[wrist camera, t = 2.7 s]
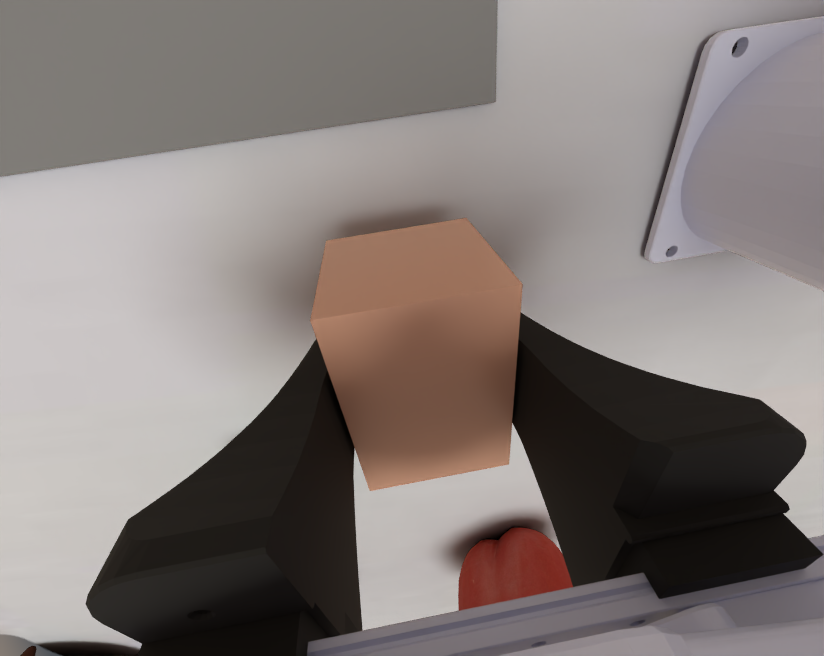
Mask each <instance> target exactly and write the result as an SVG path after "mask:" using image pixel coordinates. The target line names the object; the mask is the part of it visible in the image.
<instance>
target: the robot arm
mask: <svg viewBox="0 0 824 656" xmlns="http://www.w3.org/2000/svg"><path fill="white" fill-rule="evenodd" d="M736 42H738V43H737V48H736V50H735V52H734V53H733V55H732V48H733V46H734V44H735V43H736ZM670 247H671V248H670ZM669 248H670V249H669ZM668 249H669V250H668ZM667 250H668V251H667ZM666 251H667V252H666ZM724 251H731V252H734V253H736V254H738V255H741V256H743V257H745V258H748V259H750V260H752V261H755V262H757V263H759V264H762V265H764V266H766V267H769V268H771V269H773V270H776V271H778V272H780V273H783V274H785V275H787V276H790V277H792V278H794V279H797V280H799V281H801V282H804V283H806V284H808V285H811V286H813V287H815V288H818V289H820V290H822V291H824V16H820V17H813V18H806V19H799V20H792V21H785V22H778V23H771V24H764V25H758V26H751V27H744V28H737V29H730V30H724V31H720V32H718V33H716V34H715V35H713V36H712V37H711V38H710V39H709V40H708V42H707V43H706V45H705V47H704V49H703V51H702V54H701V57H700V61H699V64H698V68H697V71H696V75H695V78H694V82H693V85H692V89H691V92H690V96H689V99H688V103H687V106H686V110H685V113H684V117H683V120H682V124H681V127H680V130H679V134H678V137H677V141H676V144H675V148H674V151H673V155H672V158H671V162H670V165H669V169H668V172H667V176H666V179H665V183H664V186H663V190H662V193H661V197H660V200H659V204H658V207H657V210H656V214H655V217H654V221H653V224H652V228H651V231H650V235H649V238H648V242H647V245H646V249H645V253H644V257H645V259H647V260H648V261H650V262H652V263H661V262H667V261H672V260H678V259H684V258H690V257H695V256H701V255H707V254H712V253H718V252H724ZM512 423H513V425H514V427H515V429H516V430H517V433H518V435H519V437H520V439H521V441H522V443H523V446H524V449H525V451H526V454H527V456H528V459H529V461H530V464H531V466H532V469H533V472H534V474H535V477H536V480H537V482H538V485H539V488H540V491H541V493H542V496H543V499H544V501H545V504H546V507H547V510H548V513H549V516H550V519H551V521H552V524H553V527H554V530H555V533H556V536H557V539H558V542H559V545H560V548H561V551H562V554H563V557H564V560H565V563H566V566H567V569H568V572H569V575H570V579H571V582H572V585H573V587H571V588H566V589H561V590H557V591H552V592H547V593H542V594H537V595H533V596H528V597H523V598H518V599H513V600H508V601H504V602H499V603H494V604H489V605H484V606H479V607H475V608H470V609H465V610H460V611H455V612H450V613H446V614H441V615H436V616H431V617H426V618H422V619H417V620H412V621H407V622H402V623H397V624H393V625H388V626H383V627H378V628H373V629H368V630H364V631H362V618H361V605H360V592H359V578H358V562H357V546H356V527H355V507H354V480H353V469H354V449H355V447H354V444H353V441H352V438H351V435H350V433H349V430H348V427H347V424H346V421H345V418H344V415H343V413H342V410H341V407H340V404H339V401H338V398H337V395H336V393H335V390H334V387H333V384H332V381H331V378H330V375H329V373H328V370H327V367H326V364H325V361H324V358H323V355H322V353H321V350H320V347H319V344H318V341H317V338H316V340H315V342H314V343H313V345H312V346H311V348H310V349H309V351H308V353H307V354H306V356H305V357H304V359H303V360H302V361H301V363H300V364H299V366H298V367H297V369H296V370H295V372H294V373H293V374H292V376H291V377H290V378H289V380H288V381H287V382H286V384H285V385H284V386H283V387H282V389H281V390H280V391H279V393H278V394H277V395H276V396H275V397H274V399H273V400H272V401H271V402H270V403H269V404H268V405H267V406H266V408H265V409H264V410H263V411H262V412H261V413H260V414H259V415H258V416H257V417H256V418H255V419H254V420H253V421H252V422H251V423H250V424H249V425H248V426H247V427H246V428H245V429H244V430H243V431H242V432H241V433H239V434H238V435H237V436H236V437H235V438H234V439H233V440H232V441H231V442H230V443H229V444H228V445H227V446H225V447H224V448H223V449H222V450H221V451H220V452H219V453H217V454H216V455H215V456H214V457H213V458H211V459H210V460H209V461H208V462H207V463H205V464H204V465H203V466H202V467H200V468H199V469H198V470H196V471H195V472H194V473H193V474H191V475H190V476H189V477H188V478H186V479H185V480H184V481H182V482H181V483H180V484H178V485H177V486H176V487H174V488H173V489H171V490H170V491H168V492H167V493H166V494H164V495H163V496H161V497H160V498H159V499H157V500H156V501H154V502H153V503H151V504H150V505H149V506H147V507H146V508H144V509H143V510H142V511H140V512H139V513H137V514H136V515H134V516H133V517H131V518H130V519H128V521H127V523H126V524H125V526H124V528H123V530H122V532H121V534H120V535H119V537H118V539H117V541H116V543H115V545H114V547H113V549H112V550H111V552H110V554H109V556H108V558H107V560H106V562H105V564H104V566H103V567H102V569H101V571H100V573H99V575H98V577H97V579H96V581H95V582H94V584H93V586H92V588H91V590H90V592H89V594H88V596H87V601H86V605H87V608H88V610H89V611H90V613H91V615H92V617H93V618H95V619H96V620H98V621H99V622H101V623H102V624H104V625H106V626H108V627H110V628H112V629H114V630H116V631H118V632H120V633H122V634H124V635H126V636H128V637H130V638H132V639H134V640H136V641H138V642H140V643H142V646H141V649H140V651H139V654H138V656H824V535H822V536H817V537H812V538H807V537H806V536H805V535H804V534H803V533H802V532H801V531H800V530H799V529H798V528H797V527H796V526H795V525H794V524H793V523H792V522H791V521H790V520H789V519H788V518H787V517H786V516H785V515H784V514H783V513H786V512H787V511H788V510H789V506H788V504H787V503H786V502H785V501H784V500H783V499H782V498H781V497H780V496H779V495H778V494H777V493H776V492H775V491H774V489H775V488H776V487H777V486H778V485H779V484H780V483H781V481H782V480H783V479H784V478H785V477H786V476H787V475H788V474H789V473H790V472H791V470H792V469H793V468H794V467H795V466H796V465H797V464H798V462H799V461H800V459H801V458H802V457H803V455H804V452H805V449H806V439H805V436H804V433H802V432H801V431H800V430H798V429H797V428H796V427H795V426H793V425H792V424H791V423H789V422H788V421H787V420H786V419H784V418H783V417H782V416H780V415H779V414H778V413H777V412H775V411H774V410H773V409H771V408H770V407H769V406H768V405H766V404H765V403H764V402H762V401H761V400H759V399H755V398H750V397H746V396H741V395H737V394H732V393H727V392H723V391H718V390H713V389H709V388H704V387H700V386H696V385H692V384H688V383H685V382H681V381H677V380H674V379H670V378H666V377H663V376H660V375H656V374H653V373H650V372H646V371H644V370H641V369H638V368H635V367H632V366H629V365H626V364H623V363H620V362H618V361H615V360H612V359H610V358H607V357H605V356H603V355H600V354H598V353H596V352H593V351H591V350H588V349H586V348H584V347H582V346H580V345H578V344H575V343H573V342H571V341H570V340H568V339H566V338H564V337H562V336H560V335H558V334H556V333H554V332H552V331H551V330H549V329H547V328H545V327H544V326H542V325H540V324H538V323H537V322H535V321H533V320H532V319H530V318H529V317H527V316H525V315H524V314H522V313H521V312H520V325H519V338H518V351H517V364H516V377H515V391H514V404H513V417H512Z"/></svg>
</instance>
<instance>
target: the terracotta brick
mask: <svg viewBox="0 0 824 656" xmlns="http://www.w3.org/2000/svg"><path fill="white" fill-rule="evenodd" d="M522 285H523V284H522V283H521V282H520V281H519V279H518V278H517V277H516V276H515V275H514V274H513V272H512V271H511V270H510V269H509V268H508V266H507V265H506V264H505V263H504V262H503V261H502V259H501V258H500V257H499V256H498V255H497V253H496V252H495V251H494V250H493V249H492V248H491V246H490V245H489V244H488V243H487V242H486V241H485V239H484V238H483V237H482V236H481V235H480V233H479V232H478V231H477V230H476V229H475V228H474V226H473V225H472V224H471V223H470V222H469V220H468V219H467V218H462V219H456V220H450V221H444V222H438V223H431V224H425V225H419V226H413V227H407V228H401V229H394V230H388V231H382V232H376V233H370V234H364V235H357V236H351V237H345V238H339V239H333V240H327V241H326V244H325V249H324V254H323V259H322V264H321V269H320V274H319V279H318V284H317V289H316V294H315V299H314V304H313V309H312V314H311V319H310V321H311V324H312V327H313V330H314V333H315V335H316V338H317V341H318V344H319V347H320V350H321V353H322V355H323V358H324V361H325V364H326V367H327V370H328V373H329V375H330V378H331V381H332V384H333V387H334V390H335V393H336V395H337V398H338V401H339V404H340V407H341V410H342V413H343V415H344V418H345V421H346V424H347V427H348V430H349V433H350V435H351V438H352V441H353V444H354V447H355V450H356V453H357V455H358V458H359V461H360V464H361V467H362V470H363V473H364V475H365V478H366V481H367V484H368V487H369V490H370V491H372V490H377V489H383V488H388V487H393V486H398V485H403V484H409V483H414V482H419V481H424V480H430V479H435V478H440V477H445V476H450V475H456V474H461V473H466V472H471V471H476V470H482V469H487V468H492V467H497V466H503V465H508V464H509V457H510V443H511V430H512V417H513V404H514V391H515V377H516V364H517V351H518V338H519V325H520V312H521V298H522Z"/></svg>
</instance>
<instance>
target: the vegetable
mask: <svg viewBox="0 0 824 656" xmlns="http://www.w3.org/2000/svg"><path fill="white" fill-rule="evenodd" d="M571 587H573V585H572V582H571V579H570V575H569V572H568V569H567V566H566V563H565V560H564V557H563V554H562V553H561V551H560V550H559V548H558V547H557V546H556V545H555V544H554V543H553V542H552V541H551V540H550V539H549V538H548V537H546V536H545V535H544V534H543V533H541V532H538V531H536V530H532V529H528V528H520V527H518V528H511V529H510V530H508V531H507V532H506V533H504V534H503V536H502V537H501V538H500V539H499V540H492V539H487V540H481V541H480V542H479V543H477V544H476V545H475V546H474V547H473V548H472V549H471V550H470V551H469V552H468V554H467V555H466V557H465V560H464V562H463V564H462V568H461V573H460V577H459V595H458V598H459V611H460V610H465V609H470V608H475V607H479V606H484V605H489V604H494V603H499V602H504V601H508V600H513V599H518V598H523V597H528V596H533V595H537V594H542V593H547V592H552V591H557V590H561V589H566V588H571Z"/></svg>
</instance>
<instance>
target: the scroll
mask: <svg viewBox="0 0 824 656" xmlns="http://www.w3.org/2000/svg"><path fill="white" fill-rule="evenodd" d="M35 653H36V647H35V646H31V647H29V648H27V649H26V650H25V651H24V652H23V654H22V655H21V656H35Z"/></svg>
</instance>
